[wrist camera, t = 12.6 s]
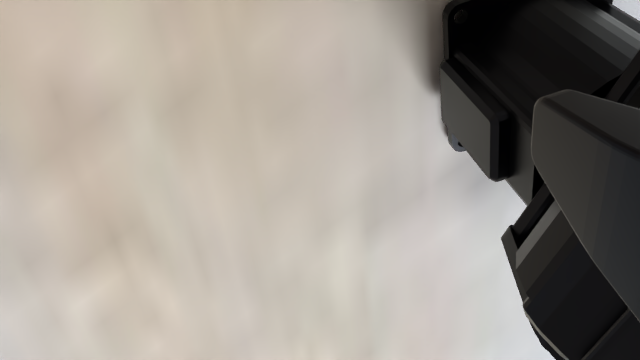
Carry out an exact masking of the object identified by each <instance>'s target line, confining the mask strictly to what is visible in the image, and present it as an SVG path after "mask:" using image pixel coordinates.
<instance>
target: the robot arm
mask: <svg viewBox="0 0 640 360" xmlns="http://www.w3.org/2000/svg"><path fill="white" fill-rule="evenodd" d="M612 2H613V0H453V1H451V2H450V3H449V4H448V5H446V7H445V9H444V11H443V35H444V58H445V60H443V61H442V63H441V65H440V67H439V72H440V91H441V111H442V121H443V122H444V123H445V125H446V126H447V127H448V141H449V144H450V145H451V146H452V148H453V149H454V150H455V151H458V152H462V151H467V152H468V153H469V155H470V156H471V157H472V158H473V160H474V161H475V162H476V163H477V165H478V166H479V167H480V168H481V170H482V171H483V172H484V173H485V175H486V176H487V177H488V178H489V179H491V180H493V181H494V182H498V181H501V180H504V179H505V180H506V181H507V182H508V184H509V185H510V186H511V187H512V188H513V190H514V191H515V192H516V193H517V194H518V196H519V197H520V198H521V199H522V200H523V202H524V203H525V204H526V205H527V207H526V209H525V210H524V211H523V213H522V214H521V216H520V217H519V218H518V220H517V221H516V223H515V224H514V225H510V226H509V227H508V229H507V230H506V231H505V233H504V234H503V236H502V237H501V240H502V243H503V246H504V249H505V252H506V255H507V257H508V260H509V263H510V266H511V269H512V272H513V275H514V278H515V281H516V284H517V287H518V290H519V292H520V295H521V298H522V301H523V308H524V312H525V315H526V317H527V318H528V319H529V322H530V324H531V326H532V328H533V330H534V332H535V334H536V336H537V337H538V338H539V341H540V343H541V345H542V346H543V347H544V348H545V349H546V350H547V351H549V352H550V354H551V355H552V356H553V357H554V358H555V359H556V360H640V21H638V20H637V19H635V18H633V17H632V16H630V15H629V14H627V13H625V12H624V11H622V10H620V9H619V8H617V7H615V6H614V5H612ZM460 10H463V12H462V15H461V16H460V17H459V18H457V19H454V17H455V14H456V13H457V12H458V11H460Z"/></svg>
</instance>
